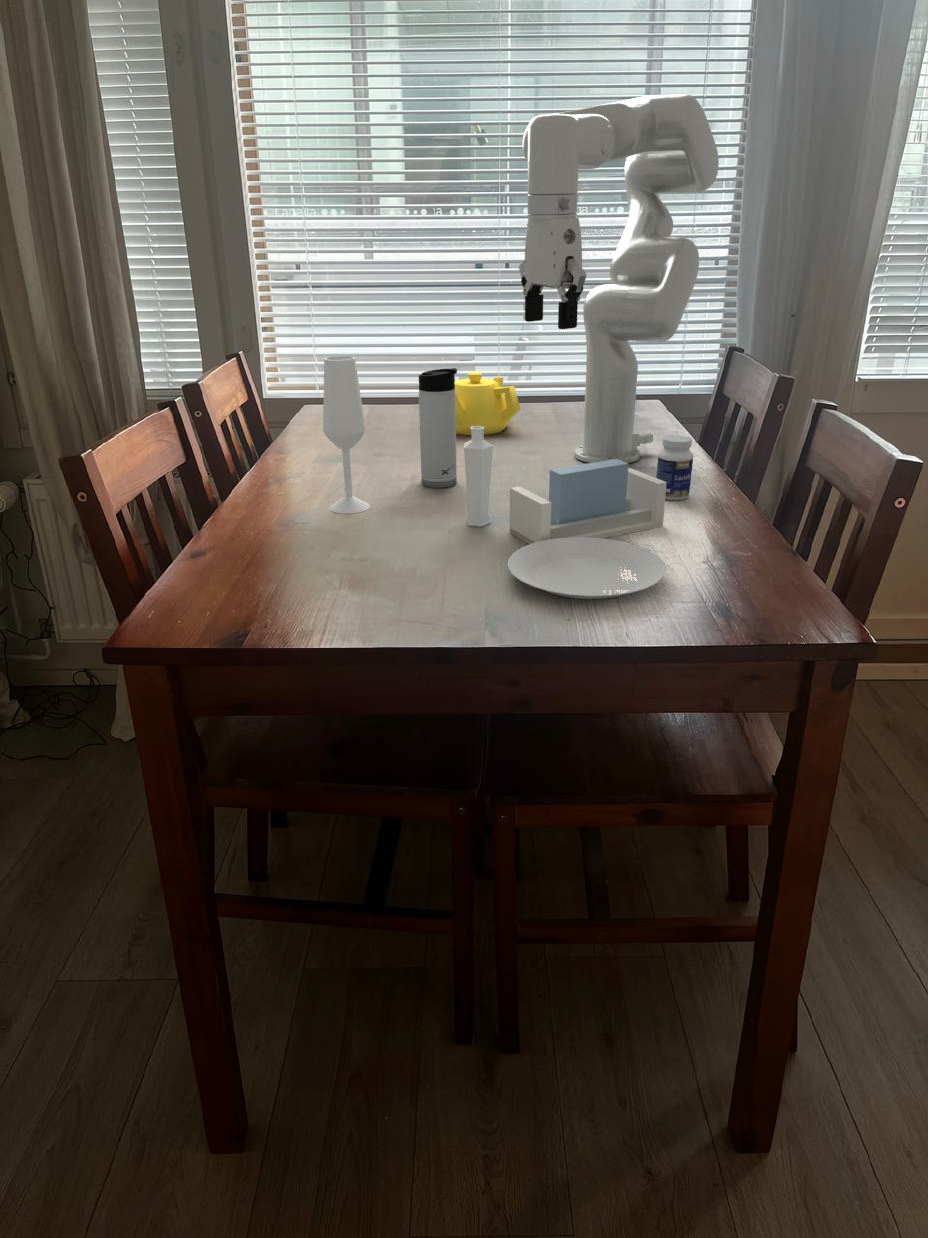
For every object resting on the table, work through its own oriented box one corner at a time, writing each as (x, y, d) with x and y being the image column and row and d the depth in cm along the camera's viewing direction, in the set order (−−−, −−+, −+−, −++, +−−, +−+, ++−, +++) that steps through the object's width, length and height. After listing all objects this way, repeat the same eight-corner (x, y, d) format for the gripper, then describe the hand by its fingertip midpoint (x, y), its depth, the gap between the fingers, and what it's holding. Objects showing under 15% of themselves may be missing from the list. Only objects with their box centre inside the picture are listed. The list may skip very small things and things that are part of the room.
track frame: (627, 510, 147) (630, 467, 144) (662, 526, 140) (666, 482, 137) (509, 532, 138) (510, 487, 135) (540, 550, 131) (541, 504, 128)
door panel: (613, 515, 143) (616, 458, 139) (624, 520, 140) (628, 463, 136) (548, 527, 138) (549, 469, 134) (558, 533, 135) (560, 474, 132)
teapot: (522, 435, 194) (523, 377, 189) (445, 440, 191) (444, 382, 186) (501, 418, 209) (502, 364, 204) (430, 422, 206) (428, 368, 201)
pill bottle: (677, 503, 150) (683, 444, 146) (648, 496, 154) (652, 438, 150) (695, 495, 154) (701, 437, 150) (666, 489, 158) (671, 432, 153)
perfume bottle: (496, 519, 144) (496, 424, 138) (487, 528, 140) (487, 431, 134) (468, 516, 145) (467, 422, 139) (459, 525, 142) (458, 429, 135)
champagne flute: (321, 510, 149) (309, 360, 139) (341, 499, 154) (331, 353, 144) (358, 515, 146) (348, 362, 136) (376, 503, 152) (369, 355, 142)
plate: (554, 624, 110) (554, 607, 109) (482, 565, 127) (482, 550, 126) (697, 595, 117) (698, 578, 116) (610, 543, 134) (611, 528, 133)
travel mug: (454, 489, 159) (452, 372, 150) (417, 487, 160) (413, 371, 152) (461, 479, 164) (460, 365, 156) (426, 477, 166) (422, 364, 157)
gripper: (606, 207, 133) (601, 329, 141) (542, 205, 147) (540, 316, 154) (563, 209, 130) (560, 333, 137) (502, 207, 144) (502, 320, 151)
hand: (550, 324), depth 146 cm, fingers open, 9 cm apart
